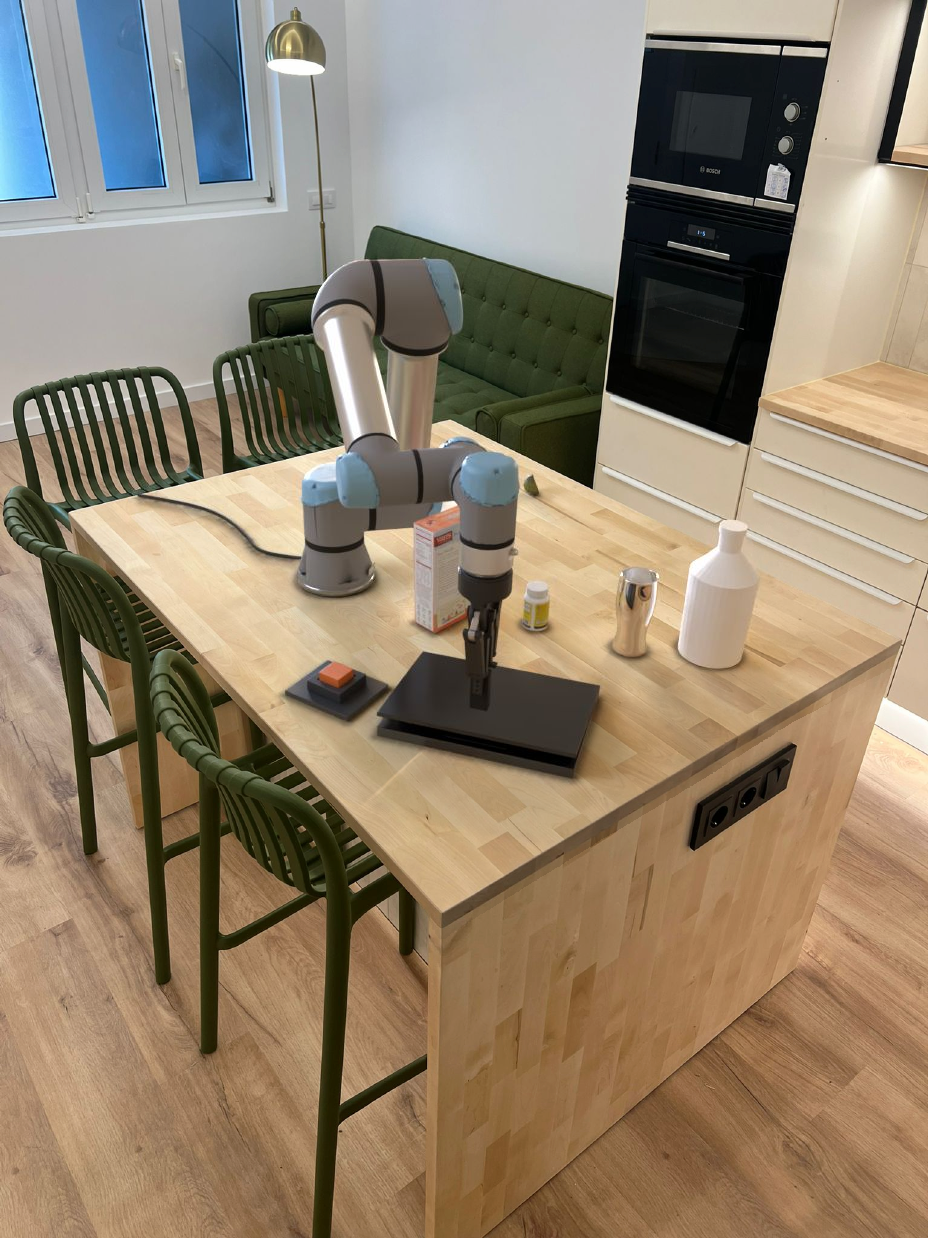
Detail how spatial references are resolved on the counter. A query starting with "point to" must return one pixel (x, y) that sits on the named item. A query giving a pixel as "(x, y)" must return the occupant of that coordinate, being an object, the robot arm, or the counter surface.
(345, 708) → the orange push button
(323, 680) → the key
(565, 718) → the laptop screen
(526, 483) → the lime
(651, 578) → the beer glass
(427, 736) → the laptop
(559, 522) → the counter surface
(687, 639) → the bottle
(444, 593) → the cracker box
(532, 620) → the supplement bottle
